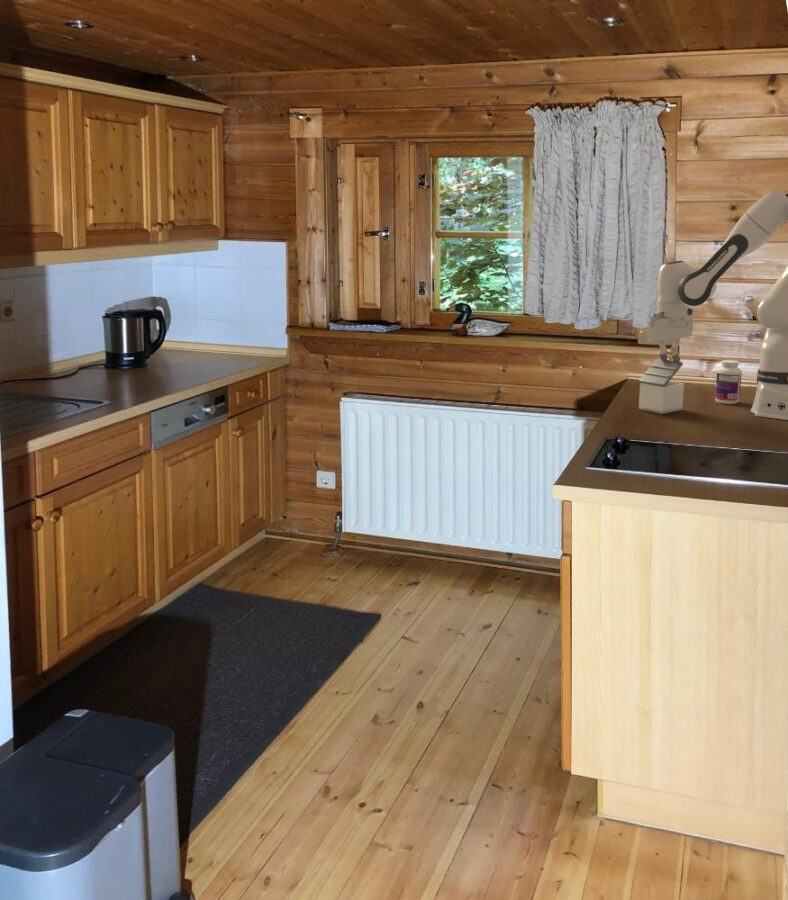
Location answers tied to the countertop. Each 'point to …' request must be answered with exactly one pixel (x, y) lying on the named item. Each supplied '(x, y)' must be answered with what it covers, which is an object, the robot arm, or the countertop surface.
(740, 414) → the countertop surface
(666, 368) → the lid
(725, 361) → the pill bottle
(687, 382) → the countertop surface
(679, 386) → the tub
